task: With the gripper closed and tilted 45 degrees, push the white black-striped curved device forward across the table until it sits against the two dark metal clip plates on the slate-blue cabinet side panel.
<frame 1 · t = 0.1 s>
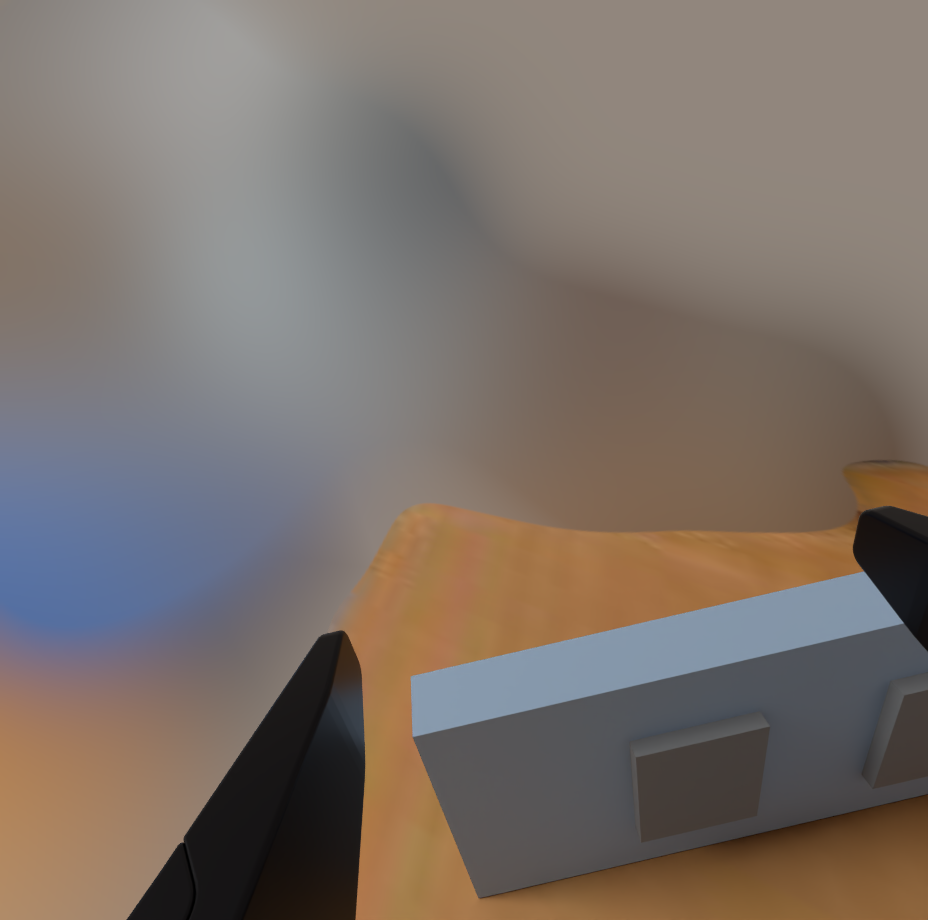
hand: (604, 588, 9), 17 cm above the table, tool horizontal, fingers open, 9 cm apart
cabinet side panel: (754, 802, 20), on the table
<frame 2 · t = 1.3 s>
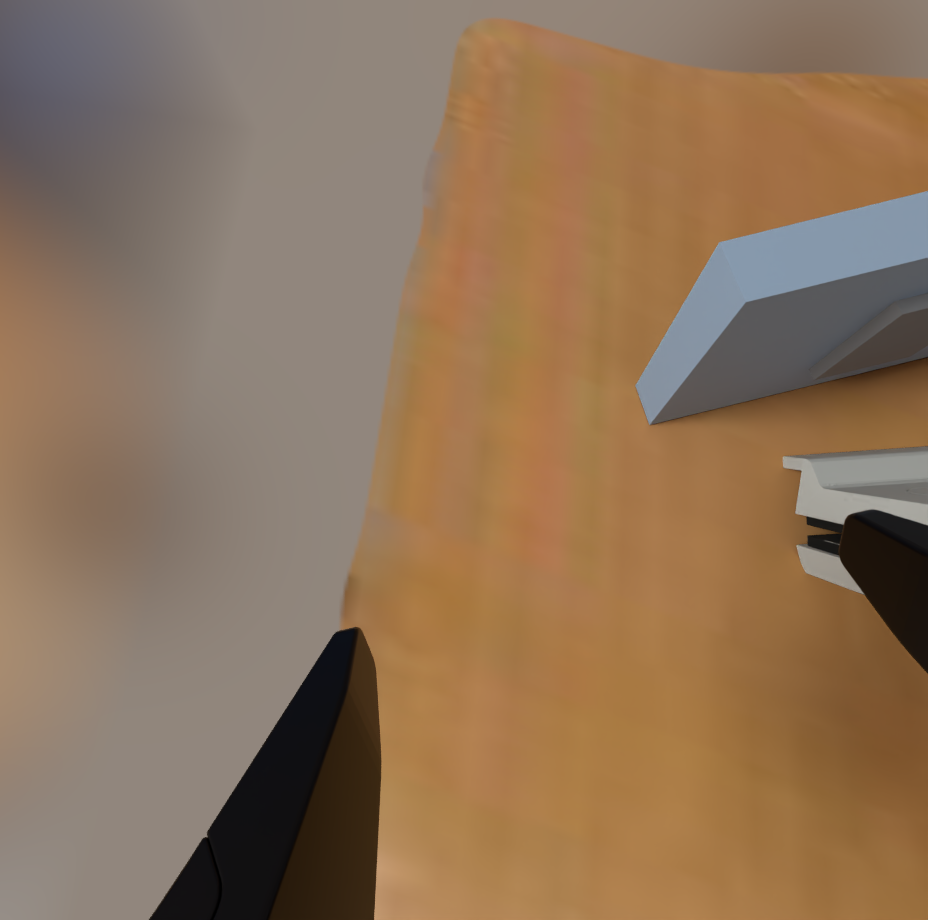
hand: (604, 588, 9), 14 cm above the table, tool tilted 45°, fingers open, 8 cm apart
cabinet side panel: (876, 347, 24), on the table
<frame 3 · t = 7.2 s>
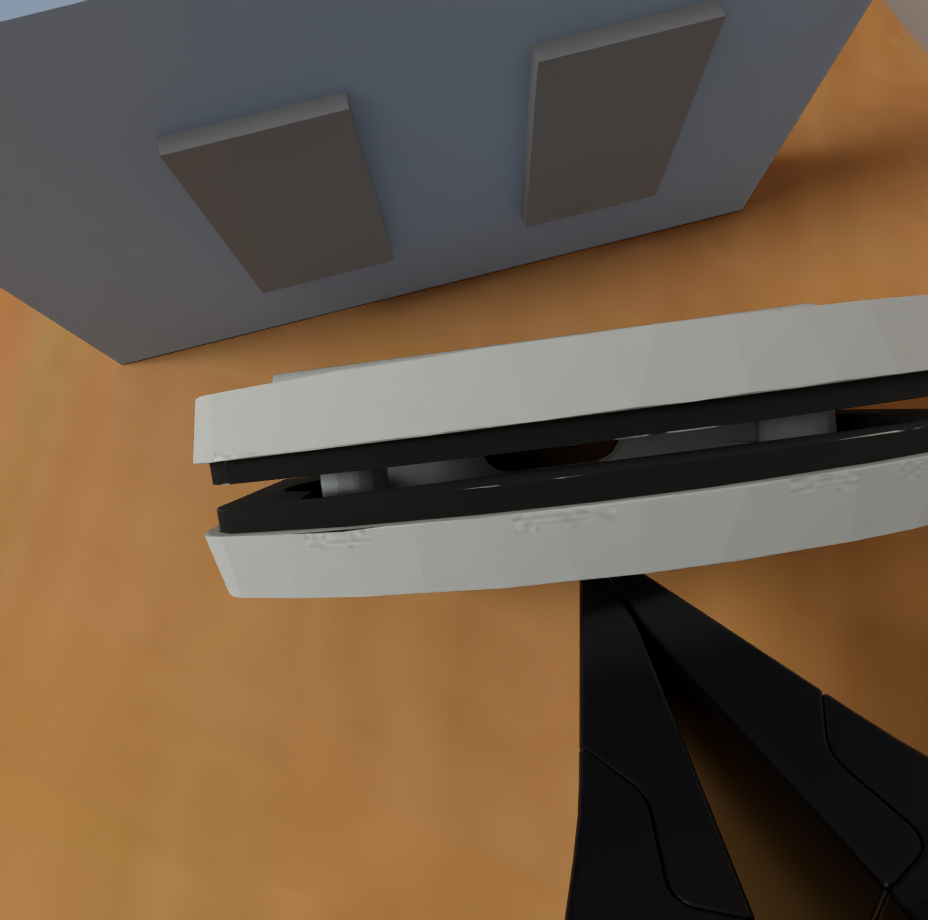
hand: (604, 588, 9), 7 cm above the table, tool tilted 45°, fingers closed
white black-striped curved device: (550, 463, 17), on the table, touching gripper
cabinet side panel: (426, 262, 19), on the table
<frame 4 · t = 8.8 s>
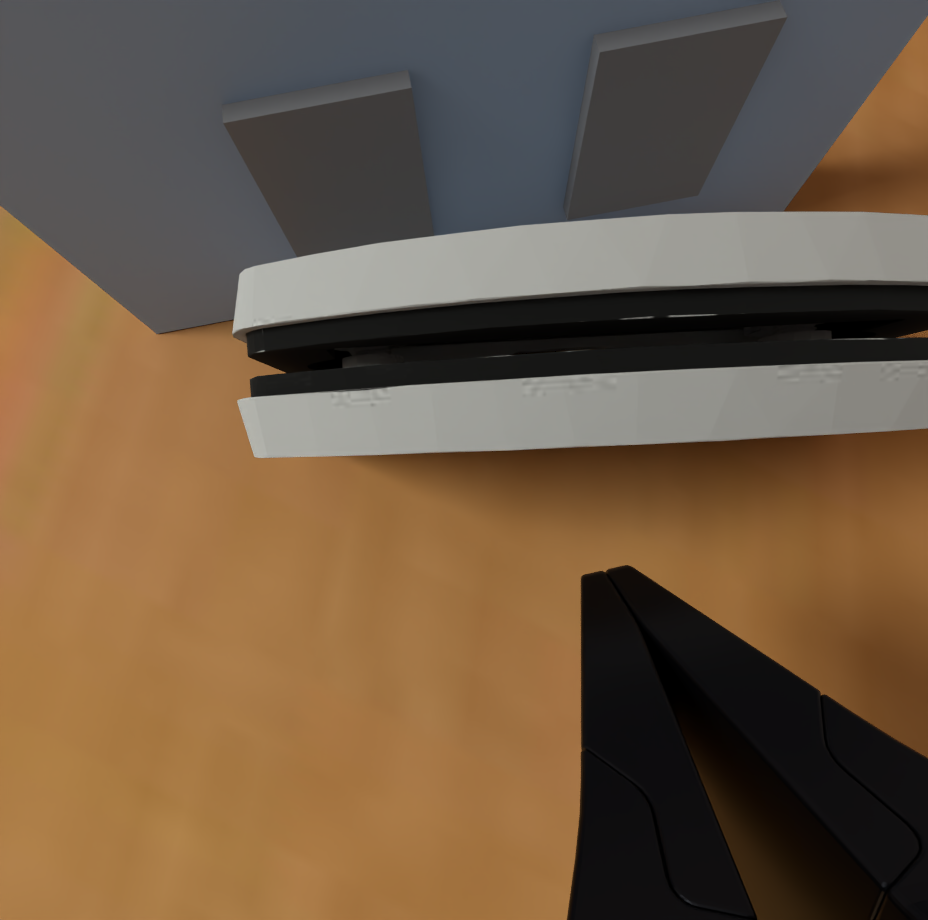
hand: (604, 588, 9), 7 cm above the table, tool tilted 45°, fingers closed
white black-striped curved device: (558, 403, 17), on the table
cabinet side panel: (463, 250, 19), on the table
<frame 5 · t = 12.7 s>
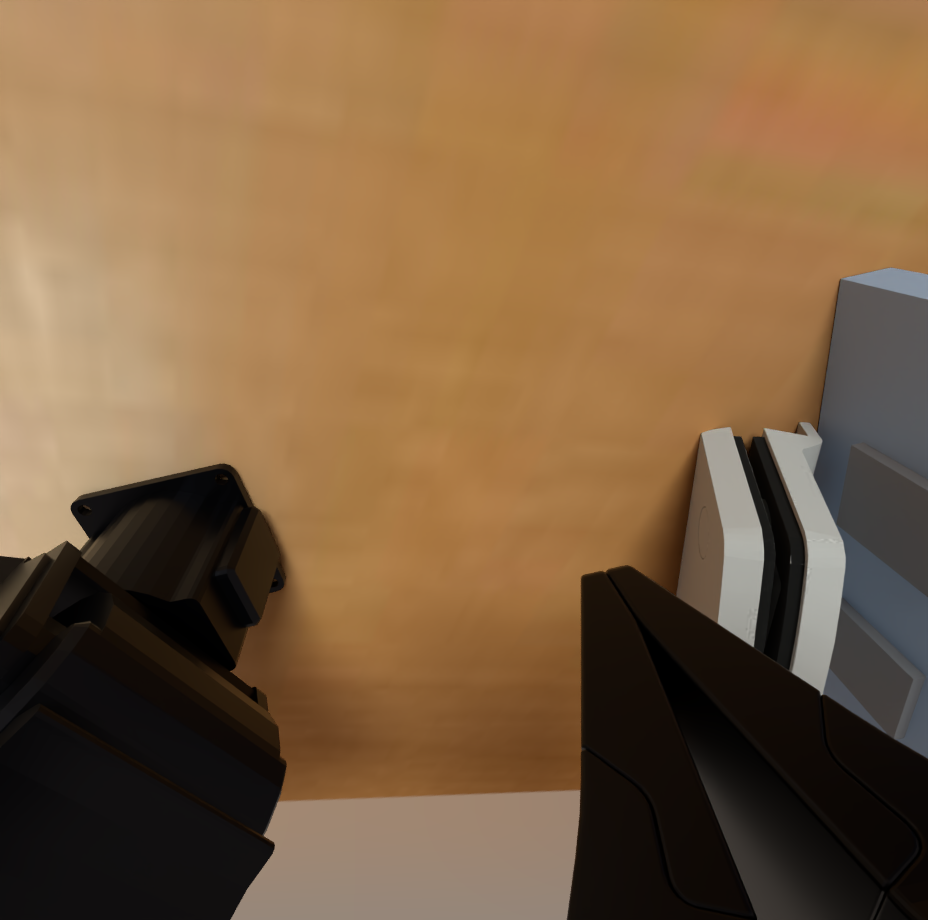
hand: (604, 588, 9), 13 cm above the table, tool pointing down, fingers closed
white black-striped curved device: (697, 568, 28), on the table
cabinet side panel: (825, 504, 26), on the table
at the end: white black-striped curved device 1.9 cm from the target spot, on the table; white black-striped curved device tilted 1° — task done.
